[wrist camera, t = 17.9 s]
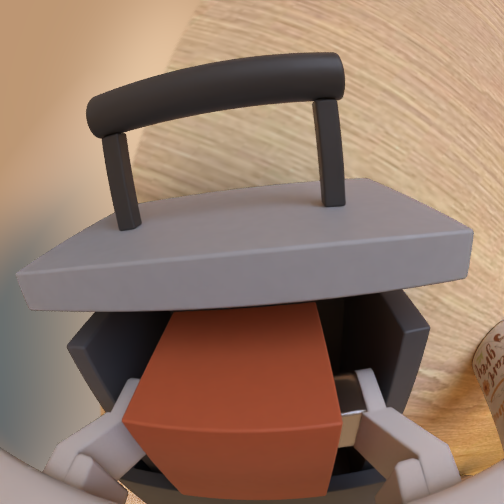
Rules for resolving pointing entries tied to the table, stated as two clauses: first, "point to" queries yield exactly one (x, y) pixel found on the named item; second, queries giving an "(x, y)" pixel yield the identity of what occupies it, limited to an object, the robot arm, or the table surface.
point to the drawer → (249, 241)
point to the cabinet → (171, 500)
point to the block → (240, 404)
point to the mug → (492, 374)
